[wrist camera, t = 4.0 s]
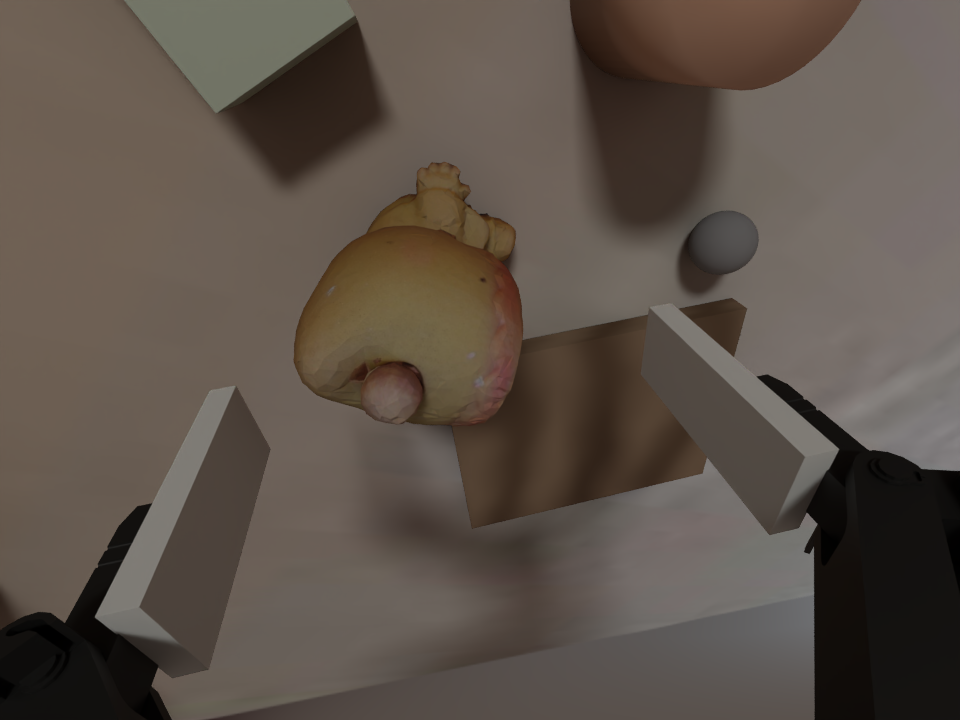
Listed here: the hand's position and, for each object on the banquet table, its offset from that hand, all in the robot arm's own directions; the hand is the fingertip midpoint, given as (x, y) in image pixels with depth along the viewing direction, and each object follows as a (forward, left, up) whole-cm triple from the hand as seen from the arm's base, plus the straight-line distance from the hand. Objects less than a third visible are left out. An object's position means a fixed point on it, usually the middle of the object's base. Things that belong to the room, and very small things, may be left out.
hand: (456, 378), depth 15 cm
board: (+10, -15, -12) cm, 21 cm away
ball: (+17, -2, -12) cm, 20 cm away
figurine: (0, 0, -12) cm, 12 cm away
